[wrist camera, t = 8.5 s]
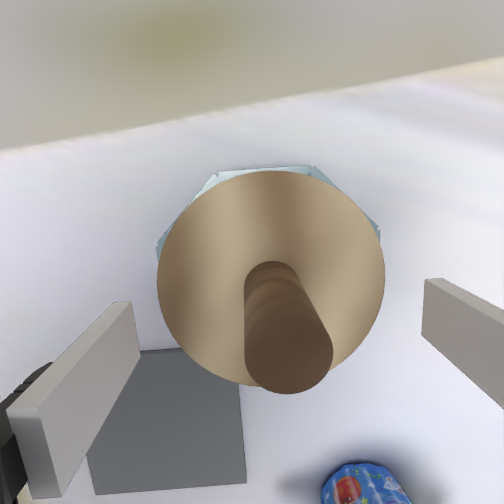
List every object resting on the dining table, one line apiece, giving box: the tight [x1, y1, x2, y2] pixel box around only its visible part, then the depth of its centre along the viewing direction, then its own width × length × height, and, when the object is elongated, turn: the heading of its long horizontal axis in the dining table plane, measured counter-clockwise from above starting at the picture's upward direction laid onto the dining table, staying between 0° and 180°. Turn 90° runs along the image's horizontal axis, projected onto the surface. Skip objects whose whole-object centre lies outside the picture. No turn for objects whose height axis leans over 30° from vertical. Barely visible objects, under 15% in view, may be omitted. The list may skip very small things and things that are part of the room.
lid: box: [157, 171, 385, 394], centre depth 15 cm, size 13×13×8 cm
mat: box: [86, 348, 247, 495], centre depth 28 cm, size 14×14×1 cm
